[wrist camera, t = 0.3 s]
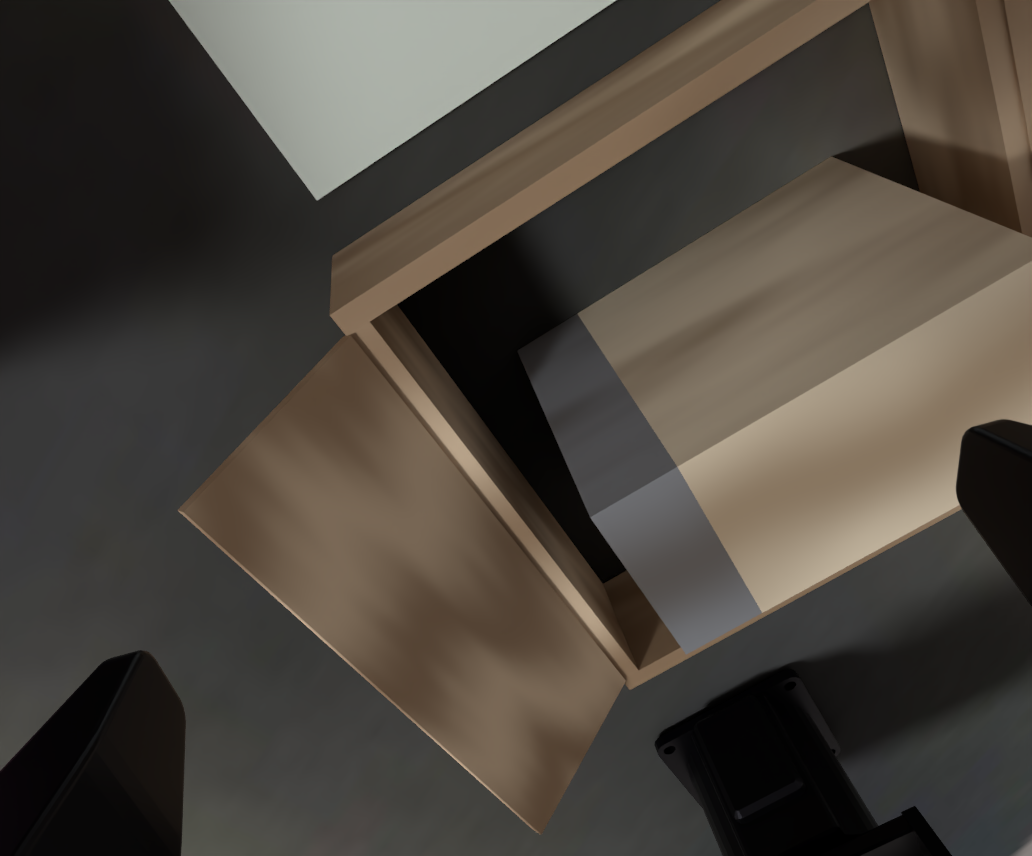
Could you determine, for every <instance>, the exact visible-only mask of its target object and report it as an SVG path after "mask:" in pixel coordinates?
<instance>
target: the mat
mask: <svg viewBox="0 0 1032 856" xmlns="http://www.w3.org/2000/svg"><path fill="white" fill-rule="evenodd" d="M169 1H170V3H171V4H172V5H173V7H174V8H175V9H176V11H177V12H178V14H179V15H180V16H181V18H182V19H183V20H184V22H185V23H186V24H187V26H188V27H189V28H190V30H191V31H192V32H193V34H194V35H195V37H196V38H197V39H198V41H199V42H200V43H201V45H202V46H203V47H204V49H205V50H206V51H207V53H208V54H209V55H210V57H211V58H212V60H213V61H214V62H215V64H216V65H217V66H218V68H219V69H220V70H221V72H222V73H223V74H224V76H225V77H226V78H227V80H228V81H229V82H230V84H231V85H232V87H233V88H234V89H235V91H236V92H237V93H238V95H239V96H240V97H241V99H242V100H243V101H244V103H245V104H246V105H247V107H248V108H249V110H250V111H251V112H252V114H253V115H254V116H255V118H256V119H257V120H258V122H259V123H260V124H261V126H262V127H263V128H264V130H265V131H266V133H267V134H268V135H269V137H270V138H271V139H272V141H273V142H274V143H275V145H276V146H277V147H278V149H279V150H280V151H281V153H282V154H283V155H284V157H285V158H286V160H287V161H288V162H289V164H290V165H291V166H292V168H293V169H294V170H295V172H296V173H297V174H298V176H299V177H300V178H301V180H302V181H303V183H304V184H305V185H306V187H307V188H308V189H309V191H310V192H311V193H312V195H313V196H314V197H315V199H316V200H319V199H320V198H322V197H323V196H325V195H326V194H328V193H329V192H331V191H332V190H334V189H335V188H337V187H338V186H340V185H341V184H343V183H344V182H346V181H347V180H349V179H350V178H352V177H353V176H355V175H356V174H358V173H359V172H361V171H362V170H363V169H365V168H366V167H368V166H369V165H371V164H372V163H374V162H375V161H377V160H378V159H380V158H381V157H383V156H384V155H386V154H387V153H389V152H390V151H392V150H393V149H395V148H396V147H398V146H399V145H401V144H402V143H404V142H405V141H407V140H408V139H410V138H411V137H413V136H414V135H416V134H417V133H419V132H420V131H422V130H423V129H425V128H426V127H428V126H429V125H431V124H432V123H434V122H435V121H437V120H438V119H440V118H441V117H443V116H444V115H446V114H447V113H449V112H450V111H452V110H453V109H455V108H456V107H458V106H459V105H461V104H462V103H464V102H465V101H467V100H468V99H470V98H471V97H473V96H474V95H476V94H477V93H478V92H480V91H481V90H483V89H484V88H486V87H487V86H489V85H490V84H492V83H493V82H495V81H496V80H498V79H499V78H501V77H502V76H504V75H505V74H507V73H508V72H510V71H511V70H513V69H514V68H516V67H517V66H519V65H520V64H522V63H523V62H525V61H526V60H528V59H529V58H531V57H532V56H534V55H535V54H537V53H538V52H540V51H541V50H543V49H544V48H546V47H547V46H549V45H550V44H552V43H553V42H555V41H556V40H558V39H559V38H561V37H562V36H564V35H565V34H567V33H568V32H570V31H571V30H573V29H574V28H576V27H577V26H579V25H580V24H582V23H583V22H585V21H586V20H588V19H589V18H591V17H592V16H594V15H595V14H596V13H598V12H599V11H601V10H602V9H604V8H605V7H607V6H608V5H610V4H611V3H613V2H614V1H616V0H169Z"/></svg>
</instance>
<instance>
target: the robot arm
mask: <svg viewBox="0 0 1032 856" xmlns="http://www.w3.org/2000/svg"><path fill="white" fill-rule="evenodd" d="M956 495H957V499H958V502H959V504H960V506H961V508H962V510H963V512H964V513H965V514H966V516H967V517H968V519H969V520H970V521H971V523H972V524H973V526H974V527H975V528H976V530H977V531H978V533H979V534H980V535H981V537H982V538H983V540H984V541H985V542H986V544H987V545H988V546H989V548H990V549H991V551H992V552H993V553H994V555H995V556H996V558H997V559H998V560H999V562H1000V563H1001V565H1002V566H1003V567H1004V569H1005V570H1006V572H1007V573H1008V574H1009V576H1010V577H1011V578H1012V580H1013V581H1014V583H1015V584H1016V585H1017V587H1018V588H1019V590H1020V591H1021V592H1022V594H1023V595H1024V597H1025V598H1026V599H1027V601H1028V602H1029V603H1030V605H1031V606H1032V425H1029V424H1025V423H1021V422H1017V421H1013V420H1008V419H1000V420H995V421H991V422H988V423H984V424H980V425H977V426H973V427H971V428H969V429H968V430H966V432H965V433H964V435H963V436H962V440H961V447H960V455H959V463H958V471H957V480H956ZM185 729H186V720H185V712H184V708H183V705H182V702H181V700H180V698H179V696H178V695H177V693H176V692H175V690H174V688H173V687H172V685H171V683H170V682H169V680H168V679H167V677H166V675H165V674H164V672H163V670H162V669H161V667H160V666H159V664H158V662H157V661H156V659H155V658H154V657H153V655H151V654H150V653H149V652H147V651H142V650H140V651H135V652H132V653H128V654H124V655H120V656H117V657H113V658H110V659H108V660H106V661H104V662H103V663H102V664H100V665H99V666H98V667H97V668H96V670H95V671H94V672H93V673H92V674H91V675H90V676H89V677H88V678H87V679H86V680H85V681H84V682H83V683H82V684H81V686H80V687H79V688H78V689H77V690H76V691H75V692H74V693H73V694H72V695H71V696H70V697H69V698H68V699H67V700H66V702H65V703H64V704H63V705H62V706H61V707H60V708H59V709H58V710H57V711H56V712H55V713H54V714H53V715H52V716H51V718H50V719H49V720H48V721H47V722H46V723H45V724H44V725H43V726H42V727H41V728H40V729H39V730H38V731H37V732H36V734H35V735H34V736H33V737H32V738H31V739H30V740H29V741H28V742H27V743H26V744H25V745H24V746H23V747H22V748H21V750H20V751H19V752H18V753H17V754H16V755H15V756H14V757H13V758H12V759H11V760H10V761H9V762H8V763H7V764H6V766H5V767H4V768H3V769H2V770H1V771H0V856H181V845H182V818H183V789H184V759H185ZM655 747H656V750H657V752H658V755H659V757H660V758H661V759H662V760H663V761H664V763H665V764H666V765H667V766H668V767H669V769H670V770H671V771H672V772H673V773H674V775H675V776H676V777H677V778H678V779H679V781H680V782H681V783H682V784H683V785H684V787H685V788H686V789H687V790H688V791H689V793H690V794H691V795H692V796H693V797H694V799H695V800H696V801H697V802H698V803H699V805H700V806H701V807H702V808H703V810H704V812H705V815H706V817H707V819H708V822H709V824H710V827H711V829H712V831H713V834H714V836H715V838H716V841H717V843H718V846H719V848H720V850H721V853H722V855H723V856H952V855H951V854H950V853H949V851H948V850H947V848H946V847H945V846H944V844H943V843H942V842H941V840H940V839H939V838H938V836H937V835H936V834H935V832H934V831H933V829H932V828H931V827H930V825H929V824H928V823H927V821H926V820H925V819H924V817H923V816H922V815H921V813H920V812H919V811H918V809H917V808H916V807H915V806H913V807H911V808H909V809H907V810H905V811H903V812H901V813H902V815H901V816H899V817H897V818H895V819H893V820H890V821H888V822H886V823H884V824H882V825H880V826H878V825H877V823H876V821H875V820H874V818H873V817H872V815H871V813H870V812H869V810H868V808H867V807H866V805H865V804H864V802H863V800H862V799H861V797H860V795H859V794H858V792H857V790H856V789H855V787H854V786H853V784H852V782H851V781H850V779H849V777H848V776H847V774H846V773H845V771H844V769H843V768H842V766H841V764H840V763H839V761H838V760H837V758H836V757H837V756H838V755H839V754H840V752H841V748H840V746H839V744H838V742H837V741H836V739H835V737H834V736H833V734H832V732H831V730H830V729H829V727H828V725H827V724H826V722H825V720H824V718H823V717H822V715H821V713H820V711H819V710H818V708H817V706H816V705H815V703H814V701H813V699H812V698H811V696H810V694H809V693H808V691H807V689H806V687H805V686H804V684H803V682H802V681H801V679H800V677H799V676H798V674H797V673H796V672H795V671H794V670H785V671H782V672H780V673H778V674H776V675H774V676H772V677H771V678H769V679H767V680H765V681H763V682H761V683H759V684H758V685H756V686H754V687H752V688H750V689H748V690H746V691H744V692H743V693H741V694H739V695H737V696H735V697H733V698H731V699H730V700H728V701H726V702H724V703H722V704H720V705H718V706H716V707H715V708H713V709H711V710H709V711H707V712H705V713H703V714H701V715H700V716H698V717H696V718H694V719H692V720H690V721H688V722H687V723H685V724H683V725H681V726H679V727H677V728H675V729H673V730H672V731H670V732H668V733H666V734H664V735H662V736H661V737H659V738H658V739H657V740H656V741H655Z"/></svg>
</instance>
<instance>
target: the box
mask: <svg viewBox="0 0 1032 856" xmlns="http://www.w3.org/2000/svg"><path fill="white" fill-rule="evenodd" d="M517 352H518V354H519V356H520V359H521V361H522V363H523V365H524V368H525V370H526V372H527V375H528V377H529V379H530V381H531V384H532V386H533V388H534V391H535V393H536V395H537V397H538V400H539V402H540V404H541V407H542V409H543V411H544V413H545V416H546V418H547V420H548V422H549V425H550V427H551V429H552V432H553V434H554V436H555V438H556V441H557V443H558V445H559V448H560V450H561V452H562V454H563V457H564V459H565V461H566V464H567V466H568V468H569V470H570V473H571V475H572V477H573V479H574V482H575V484H576V486H577V489H578V491H579V493H580V495H581V498H582V500H583V502H584V505H585V507H586V509H587V511H588V514H589V516H590V518H591V519H592V521H593V522H594V524H595V525H596V527H597V528H598V529H599V531H600V532H601V534H602V535H603V537H604V538H605V539H606V541H607V542H608V544H609V545H610V547H611V548H612V549H613V551H614V552H615V554H616V555H617V557H618V558H619V559H620V561H621V562H622V564H623V565H624V567H625V568H626V569H627V571H628V572H629V574H630V575H631V577H632V578H633V579H634V581H635V582H636V584H637V585H638V587H639V588H640V589H641V591H642V592H643V594H644V595H645V597H646V598H647V599H648V601H649V602H650V604H651V605H652V607H653V608H654V609H655V611H656V612H657V614H658V615H659V617H660V618H661V619H662V621H663V622H664V624H665V625H666V627H667V628H668V629H669V631H670V632H671V634H672V635H673V637H674V638H675V639H676V641H677V642H678V644H679V645H680V647H681V648H682V649H683V651H684V652H685V654H688V653H690V652H692V651H694V650H696V649H697V648H699V647H701V646H703V645H705V644H707V643H708V642H710V641H712V640H714V639H716V638H718V637H719V636H721V635H723V634H725V633H727V632H728V631H730V630H732V629H734V628H736V627H738V626H739V625H741V624H743V623H745V622H747V621H749V620H750V619H752V618H754V617H756V616H758V615H760V614H761V613H763V612H765V611H767V610H769V609H770V608H772V607H774V606H776V605H778V604H780V603H781V602H783V601H785V600H787V599H789V598H791V597H792V596H794V595H796V594H798V593H800V592H802V591H803V590H805V589H807V588H809V587H811V586H812V585H814V584H816V583H818V582H820V581H822V580H823V579H825V578H827V577H829V576H831V575H833V574H834V573H836V572H838V571H840V570H842V569H844V568H845V567H847V566H849V565H851V564H853V563H854V562H856V561H858V560H860V559H862V558H864V557H865V556H867V555H869V554H871V553H873V552H875V551H876V550H878V549H880V548H882V547H884V546H885V545H887V544H889V543H891V542H893V541H895V540H896V539H898V538H900V537H902V536H904V535H906V534H907V533H909V532H911V531H913V530H915V529H917V528H918V527H920V526H922V525H924V524H926V523H927V522H929V521H931V520H933V519H935V518H937V517H938V516H940V515H942V514H944V513H946V512H948V511H949V510H951V509H953V508H955V507H957V506H959V505H960V504H959V502H958V499H957V495H956V480H957V471H958V463H959V455H960V447H961V440H962V436H963V435H964V433H965V432H966V430H968V429H969V428H971V427H973V426H977V425H980V424H984V423H988V422H991V421H995V420H1000V419H1008V420H1013V421H1017V422H1021V423H1025V424H1029V425H1032V238H1031V237H1029V236H1026V235H1024V234H1021V233H1019V232H1017V231H1014V230H1012V229H1009V228H1007V227H1004V226H1002V225H999V224H997V223H994V222H992V221H989V220H987V219H984V218H982V217H980V216H977V215H975V214H972V213H970V212H967V211H965V210H962V209H960V208H957V207H955V206H952V205H950V204H947V203H945V202H942V201H940V200H938V199H935V198H933V197H930V196H928V195H925V194H923V193H920V192H918V191H915V190H913V189H910V188H908V187H905V186H903V185H901V184H898V183H896V182H893V181H891V180H888V179H886V178H883V177H881V176H878V175H876V174H873V173H871V172H868V171H866V170H863V169H861V168H859V167H856V166H854V165H851V164H849V163H846V162H844V161H841V160H839V159H836V158H834V157H829V158H828V159H826V160H825V161H823V162H821V163H820V164H818V165H817V166H815V167H813V168H812V169H810V170H808V171H807V172H805V173H804V174H802V175H800V176H799V177H797V178H796V179H794V180H792V181H791V182H789V183H787V184H786V185H784V186H783V187H781V188H779V189H778V190H776V191H775V192H773V193H771V194H770V195H768V196H766V197H765V198H763V199H762V200H760V201H758V202H757V203H755V204H754V205H752V206H750V207H749V208H747V209H745V210H744V211H742V212H741V213H739V214H737V215H736V216H734V217H733V218H731V219H729V220H728V221H726V222H724V223H723V224H721V225H720V226H718V227H716V228H715V229H713V230H712V231H710V232H708V233H707V234H705V235H703V236H702V237H700V238H699V239H697V240H695V241H694V242H692V243H690V244H689V245H687V246H686V247H684V248H682V249H681V250H679V251H678V252H676V253H674V254H673V255H671V256H669V257H668V258H666V259H665V260H663V261H661V262H660V263H658V264H657V265H655V266H653V267H652V268H650V269H648V270H647V271H645V272H644V273H642V274H640V275H639V276H637V277H636V278H634V279H632V280H631V281H629V282H627V283H626V284H624V285H623V286H621V287H619V288H618V289H616V290H615V291H613V292H611V293H610V294H608V295H606V296H605V297H603V298H602V299H600V300H598V301H597V302H595V303H594V304H592V305H590V306H589V307H587V308H585V309H584V310H582V311H581V312H579V313H577V314H576V315H574V316H573V317H571V318H569V319H568V320H566V321H564V322H563V323H561V324H560V325H558V326H556V327H555V328H553V329H552V330H550V331H548V332H547V333H545V334H543V335H542V336H540V337H539V338H537V339H535V340H534V341H532V342H530V343H529V344H527V345H526V346H524V347H522V348H521V349H519V350H518V351H517Z"/></svg>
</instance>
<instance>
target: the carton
mask: <svg viewBox="0 0 1032 856" xmlns="http://www.w3.org/2000/svg"><path fill="white" fill-rule="evenodd" d="M868 2H869V6H870V10H871V13H872V17H873V21H874V24H875V28H876V32H877V35H878V39H879V43H880V46H881V50H882V54H883V57H884V61H885V65H886V68H887V72H888V76H889V79H890V83H891V87H892V90H893V94H894V98H895V102H896V105H897V109H898V113H899V116H900V120H901V124H902V127H903V131H904V135H905V138H906V142H907V146H908V149H909V153H910V157H911V160H912V164H913V168H914V171H915V175H916V179H917V182H918V186H919V190H920V193H923V194H925V195H928V196H930V197H933V198H935V199H938V200H940V201H942V202H945V203H947V204H950V205H952V206H955V207H957V208H960V209H962V210H965V211H967V212H970V213H972V214H975V215H977V216H980V217H982V218H984V219H987V220H989V221H992V222H994V223H997V224H999V225H1002V226H1004V227H1007V228H1009V229H1012V230H1014V231H1017V232H1019V233H1021V234H1024V235H1026V236H1029V237H1031V238H1032V0H721V1H719V2H718V3H716V4H715V5H713V6H712V7H710V8H709V9H707V10H706V11H704V12H702V13H701V14H699V15H698V16H696V17H695V18H693V19H692V20H690V21H689V22H687V23H686V24H684V25H683V26H681V27H680V28H678V29H677V30H675V31H674V32H672V33H671V34H669V35H667V36H666V37H664V38H663V39H661V40H660V41H658V42H657V43H655V44H654V45H652V46H651V47H649V48H648V49H646V50H645V51H643V52H642V53H640V54H639V55H637V56H636V57H634V58H632V59H631V60H629V61H628V62H626V63H625V64H623V65H622V66H620V67H619V68H617V69H616V70H614V71H613V72H611V73H610V74H608V75H607V76H605V77H604V78H602V79H601V80H599V81H598V82H596V83H594V84H593V85H591V86H590V87H588V88H587V89H585V90H584V91H582V92H581V93H579V94H578V95H576V96H575V97H573V98H572V99H570V100H569V101H567V102H566V103H564V104H563V105H561V106H559V107H558V108H556V109H555V110H553V111H552V112H550V113H549V114H547V115H546V116H544V117H543V118H541V119H540V120H538V121H537V122H535V123H534V124H532V125H531V126H529V127H528V128H526V129H524V130H523V131H521V132H520V133H518V134H517V135H515V136H514V137H512V138H511V139H509V140H508V141H506V142H505V143H503V144H502V145H500V146H499V147H497V148H496V149H494V150H493V151H491V152H489V153H488V154H486V155H485V156H483V157H482V158H480V159H479V160H477V161H476V162H474V163H473V164H471V165H470V166H468V167H467V168H465V169H464V170H462V171H461V172H459V173H458V174H456V175H455V176H453V177H451V178H450V179H448V180H447V181H445V182H444V183H442V184H441V185H439V186H438V187H436V188H435V189H433V190H432V191H430V192H429V193H427V194H426V195H424V196H423V197H421V198H420V199H418V200H416V201H415V202H413V203H412V204H410V205H409V206H407V207H406V208H404V209H403V210H401V211H400V212H398V213H397V214H395V215H394V216H392V217H391V218H389V219H388V220H386V221H385V222H383V223H381V224H380V225H378V226H377V227H375V228H374V229H372V230H371V231H369V232H368V233H366V234H365V235H363V236H362V237H360V238H359V239H357V240H356V241H354V242H353V243H351V244H350V245H348V246H346V247H345V248H343V249H342V250H340V251H339V252H337V253H336V254H334V255H333V256H332V276H331V298H330V316H331V317H332V319H333V320H334V321H335V322H336V324H337V325H338V326H339V327H340V329H341V330H342V331H343V332H344V334H345V335H346V336H343V337H342V338H341V339H340V340H339V342H338V343H337V344H336V345H335V346H334V347H333V348H332V349H331V350H330V351H329V352H328V353H327V354H326V355H325V356H324V357H323V358H322V359H321V360H320V361H319V362H318V364H317V365H316V366H315V367H314V368H313V369H312V370H311V371H310V372H309V373H308V374H307V375H306V376H305V377H304V378H303V379H302V380H301V381H300V382H299V383H298V384H297V386H296V387H295V388H294V389H293V390H292V391H291V392H290V393H289V394H288V395H287V396H286V397H285V398H284V399H283V400H282V401H281V402H280V403H279V404H278V405H277V407H276V408H275V409H274V410H273V411H272V412H271V413H270V414H269V415H268V416H267V417H266V418H265V419H264V420H263V421H262V422H261V423H260V424H259V425H258V426H257V427H256V429H255V430H254V431H253V432H252V433H251V434H250V435H249V436H248V437H247V438H246V439H245V440H244V441H243V442H242V443H241V444H240V445H239V446H238V447H237V448H236V449H235V451H234V452H233V453H232V454H231V455H230V456H229V457H228V458H227V459H226V460H225V461H224V462H223V463H222V464H221V465H220V466H219V467H218V468H217V469H216V470H215V472H214V473H213V474H212V475H211V476H210V477H209V478H208V479H207V480H206V481H205V482H204V483H203V484H202V485H201V486H200V487H199V488H198V489H197V490H196V491H195V492H194V494H193V495H192V496H191V497H190V498H189V499H188V500H187V501H186V502H185V503H184V504H183V505H182V506H181V507H180V508H179V509H178V511H179V512H180V513H181V514H182V515H183V516H185V517H186V518H187V519H188V520H189V521H190V522H191V523H192V524H193V525H195V526H196V527H197V528H198V529H199V530H200V531H201V532H202V533H203V534H205V535H206V536H207V537H208V538H209V539H210V540H211V541H212V542H213V543H215V544H216V545H217V546H218V547H219V548H220V549H221V550H222V551H223V552H225V553H226V554H227V555H228V556H229V557H230V558H231V559H232V560H233V561H235V562H236V563H237V564H238V565H239V566H240V567H241V568H242V569H243V570H245V571H246V572H247V573H248V574H249V575H250V576H251V577H252V578H254V579H255V580H256V581H257V582H258V583H259V584H260V585H261V586H262V587H264V588H265V589H266V590H267V591H268V592H269V593H270V594H271V595H272V596H274V597H275V598H276V599H277V600H278V601H279V602H280V603H281V604H282V605H284V606H285V607H286V608H287V609H288V610H289V611H290V612H291V613H292V614H294V615H295V616H296V617H297V618H298V619H299V620H300V621H301V622H302V623H304V624H305V625H306V626H307V627H308V628H309V629H310V630H311V631H313V632H314V633H315V634H316V635H317V636H318V637H319V638H320V639H321V640H323V641H324V642H325V643H326V644H327V645H328V646H329V647H330V648H331V649H333V650H334V651H335V652H336V653H337V654H338V655H339V656H340V657H341V658H343V659H344V660H345V661H346V662H347V663H348V664H349V665H350V666H351V667H353V668H354V669H355V670H356V671H357V672H358V673H359V674H360V675H361V676H363V677H364V678H365V679H366V680H367V681H368V682H369V683H370V684H371V685H373V686H374V687H375V688H376V689H377V690H378V691H379V692H380V693H382V694H383V695H384V696H385V697H386V698H387V699H388V700H389V701H390V702H392V703H393V704H394V705H395V706H396V707H397V708H398V709H399V710H400V711H402V712H403V713H404V714H405V715H406V716H407V717H408V718H409V719H410V720H412V721H413V722H414V723H415V724H416V725H417V726H418V727H419V728H420V729H422V730H423V731H424V732H425V733H426V734H427V735H428V736H429V737H430V738H432V739H433V740H434V741H435V742H436V743H437V744H438V745H439V746H441V747H442V748H443V749H444V750H445V751H446V752H447V753H448V754H449V755H451V756H452V757H453V758H454V759H455V760H456V761H457V762H458V763H459V764H461V765H462V766H463V767H464V768H465V769H466V770H467V771H468V772H469V773H471V774H472V775H473V776H474V777H475V778H476V779H477V780H478V781H479V782H481V783H482V784H483V785H484V786H485V787H486V788H487V789H488V790H489V791H491V792H492V793H493V794H494V795H495V796H496V797H497V798H498V799H500V800H501V801H502V802H503V803H504V804H505V805H506V806H507V807H508V808H510V809H511V810H512V811H513V812H514V813H515V814H516V815H517V816H518V817H520V818H521V819H522V820H523V821H524V822H525V823H526V824H527V825H528V826H530V827H531V828H532V829H533V830H534V831H536V832H537V833H539V834H542V833H543V831H544V829H545V827H546V825H547V824H548V822H549V820H550V818H551V816H552V814H553V813H554V811H555V809H556V807H557V805H558V803H559V802H560V800H561V798H562V796H563V794H564V793H565V791H566V789H567V787H568V785H569V783H570V782H571V780H572V778H573V776H574V774H575V773H576V771H577V769H578V767H579V765H580V763H581V762H582V760H583V758H584V756H585V754H586V753H587V751H588V749H589V747H590V745H591V743H592V742H593V740H594V738H595V736H596V734H597V732H598V731H599V729H600V727H601V725H602V723H603V722H604V720H605V718H606V716H607V714H608V712H609V711H610V709H611V707H612V705H613V703H614V702H615V700H616V698H617V696H618V694H619V692H620V691H621V689H622V687H623V685H624V683H625V685H626V686H627V687H628V688H629V690H631V689H633V688H635V687H636V686H638V685H640V684H642V683H644V682H646V681H647V680H649V679H651V678H653V677H655V676H657V675H658V674H660V673H662V672H664V671H666V670H668V669H669V668H671V667H673V666H675V665H677V664H679V663H680V662H682V661H684V660H686V659H688V658H690V657H691V656H693V655H695V654H697V653H699V652H701V651H702V650H704V649H706V648H708V647H710V646H712V645H713V644H715V643H717V642H719V641H721V640H722V639H724V638H726V637H728V636H730V635H732V634H733V633H735V632H737V631H739V630H741V629H743V628H744V627H746V626H748V625H750V624H752V623H754V622H755V621H757V620H759V619H761V618H763V617H765V616H766V615H768V614H770V613H772V612H774V611H776V610H777V609H779V608H781V607H783V606H785V605H787V604H788V603H790V602H792V601H794V600H796V599H798V598H799V597H801V596H803V595H805V594H807V593H809V592H810V591H812V590H814V589H816V588H818V587H820V586H821V585H823V584H825V583H827V582H829V581H830V580H832V579H834V578H836V577H838V576H840V575H841V574H843V573H845V572H847V571H849V570H851V569H852V568H854V567H856V566H858V565H860V564H862V563H863V562H865V561H867V560H869V559H871V558H873V557H874V556H876V555H878V554H880V553H882V552H884V551H885V550H887V549H889V548H891V547H893V546H895V545H896V544H898V543H900V542H902V541H904V540H906V539H907V538H909V537H911V536H913V535H915V534H917V533H918V532H920V531H922V530H924V529H926V528H928V527H929V526H931V525H933V524H935V523H937V522H938V521H940V520H942V519H944V518H946V517H948V516H949V515H951V514H953V513H955V512H957V511H959V510H960V509H962V508H961V506H960V505H959V506H957V507H955V508H953V509H951V510H949V511H948V512H946V513H944V514H942V515H940V516H938V517H937V518H935V519H933V520H931V521H929V522H927V523H926V524H924V525H922V526H920V527H918V528H917V529H915V530H913V531H911V532H909V533H907V534H906V535H904V536H902V537H900V538H898V539H896V540H895V541H893V542H891V543H889V544H887V545H885V546H884V547H882V548H880V549H878V550H876V551H875V552H873V553H871V554H869V555H867V556H865V557H864V558H862V559H860V560H858V561H856V562H854V563H853V564H851V565H849V566H847V567H845V568H844V569H842V570H840V571H838V572H836V573H834V574H833V575H831V576H829V577H827V578H825V579H823V580H822V581H820V582H818V583H816V584H814V585H812V586H811V587H809V588H807V589H805V590H803V591H802V592H800V593H798V594H796V595H794V596H792V597H791V598H789V599H787V600H785V601H783V602H781V603H780V604H778V605H776V606H774V607H772V608H770V609H769V610H767V611H765V612H763V613H761V614H760V615H758V616H756V617H754V618H752V619H750V620H749V621H747V622H745V623H743V624H741V625H739V626H738V627H736V628H734V629H732V630H730V631H728V632H727V633H725V634H723V635H721V636H719V637H718V638H716V639H714V640H712V641H710V642H708V643H707V644H705V645H703V646H701V647H699V648H697V649H696V650H694V651H692V652H690V653H688V654H685V652H684V651H683V649H682V648H681V647H680V645H679V644H678V642H677V641H676V639H675V638H674V637H673V635H672V634H671V632H670V631H669V629H668V628H667V627H666V625H665V624H664V622H663V621H662V619H661V618H660V617H659V615H658V614H657V612H656V611H655V609H654V608H653V607H652V605H651V604H650V602H649V601H648V599H647V598H646V597H645V595H644V594H643V592H642V591H641V589H640V588H639V587H638V585H637V584H636V582H635V581H634V579H633V578H632V577H631V575H630V574H629V572H628V571H625V572H623V573H621V574H620V575H618V576H616V577H614V578H613V579H611V580H609V581H607V582H605V583H604V584H603V583H602V582H601V581H600V579H599V578H598V577H597V575H596V574H595V572H594V571H593V570H592V568H591V567H590V566H589V564H588V563H587V562H586V560H585V559H584V558H583V556H582V555H581V553H580V552H579V551H578V549H577V548H576V547H575V545H574V544H573V543H572V541H571V540H570V539H569V537H568V536H567V534H566V533H565V532H564V530H563V529H562V528H561V526H560V525H559V524H558V522H557V521H556V520H555V518H554V517H553V515H552V514H551V513H550V511H549V510H548V509H547V507H546V506H545V505H544V503H543V502H542V501H541V499H540V498H539V496H538V495H537V494H536V492H535V491H534V490H533V488H532V487H531V486H530V484H529V483H528V482H527V480H526V479H525V478H524V476H523V475H522V473H521V472H520V471H519V469H518V468H517V467H516V465H515V464H514V463H513V461H512V460H511V459H510V457H509V456H508V454H507V453H506V452H505V450H504V449H503V448H502V446H501V445H500V444H499V442H498V441H497V440H496V438H495V437H494V435H493V434H492V433H491V431H490V430H489V429H488V427H487V426H486V425H485V423H484V422H483V421H482V419H481V418H480V416H479V415H478V414H477V412H476V411H475V410H474V408H473V407H472V406H471V404H470V403H469V402H468V400H467V399H466V397H465V396H464V395H463V393H462V392H461V391H460V389H459V388H458V387H457V385H456V384H455V383H454V381H453V380H452V378H451V377H450V376H449V374H448V373H447V372H446V370H445V369H444V368H443V366H442V365H441V364H440V362H439V361H438V359H437V358H436V357H435V355H434V354H433V353H432V351H431V350H430V349H429V347H428V346H427V345H426V343H425V342H424V340H423V339H422V338H421V336H420V335H419V334H418V332H417V331H416V330H415V328H414V327H413V326H412V324H411V323H410V321H409V320H408V319H407V317H406V316H405V315H404V313H403V312H402V311H401V309H400V308H399V307H398V305H397V304H398V303H400V302H401V301H403V300H404V299H406V298H407V297H409V296H411V295H412V294H414V293H415V292H417V291H418V290H420V289H421V288H423V287H425V286H426V285H428V284H429V283H431V282H432V281H434V280H436V279H437V278H439V277H440V276H442V275H443V274H445V273H446V272H448V271H450V270H451V269H453V268H454V267H456V266H457V265H459V264H460V263H462V262H464V261H465V260H467V259H468V258H470V257H471V256H473V255H475V254H476V253H478V252H479V251H481V250H482V249H484V248H485V247H487V246H489V245H490V244H492V243H493V242H495V241H496V240H498V239H500V238H501V237H503V236H504V235H506V234H507V233H509V232H510V231H512V230H514V229H515V228H517V227H518V226H520V225H521V224H523V223H524V222H526V221H528V220H529V219H531V218H532V217H534V216H535V215H537V214H539V213H540V212H542V211H543V210H545V209H546V208H548V207H549V206H551V205H553V204H554V203H556V202H557V201H559V200H560V199H562V198H564V197H565V196H567V195H568V194H570V193H571V192H573V191H574V190H576V189H578V188H579V187H581V186H582V185H584V184H585V183H587V182H588V181H590V180H592V179H593V178H595V177H596V176H598V175H599V174H601V173H603V172H604V171H606V170H607V169H609V168H610V167H612V166H613V165H615V164H617V163H618V162H620V161H621V160H623V159H624V158H626V157H628V156H629V155H631V154H632V153H634V152H635V151H637V150H638V149H640V148H642V147H643V146H645V145H646V144H648V143H649V142H651V141H652V140H654V139H656V138H657V137H659V136H660V135H662V134H663V133H665V132H667V131H668V130H670V129H671V128H673V127H674V126H676V125H677V124H679V123H681V122H682V121H684V120H685V119H687V118H688V117H690V116H692V115H693V114H695V113H696V112H698V111H699V110H701V109H702V108H704V107H706V106H707V105H709V104H710V103H712V102H713V101H715V100H716V99H718V98H720V97H721V96H723V95H724V94H726V93H727V92H729V91H731V90H732V89H734V88H735V87H737V86H738V85H740V84H741V83H743V82H745V81H746V80H748V79H749V78H751V77H752V76H754V75H756V74H757V73H759V72H760V71H762V70H763V69H765V68H766V67H768V66H770V65H771V64H773V63H774V62H776V61H777V60H779V59H780V58H782V57H784V56H785V55H787V54H788V53H790V52H791V51H793V50H795V49H796V48H798V47H799V46H801V45H802V44H804V43H805V42H807V41H809V40H810V39H812V38H813V37H815V36H816V35H818V34H820V33H821V32H823V31H824V30H826V29H827V28H829V27H830V26H832V25H834V24H835V23H837V22H838V21H840V20H841V19H843V18H844V17H846V16H848V15H849V14H851V13H852V12H854V11H855V10H857V9H859V8H860V7H862V6H863V5H865V4H866V3H868Z"/></svg>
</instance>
